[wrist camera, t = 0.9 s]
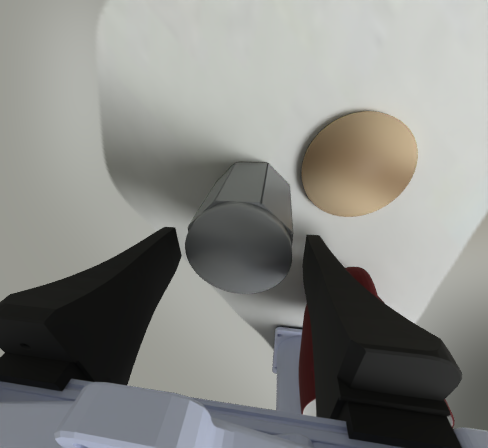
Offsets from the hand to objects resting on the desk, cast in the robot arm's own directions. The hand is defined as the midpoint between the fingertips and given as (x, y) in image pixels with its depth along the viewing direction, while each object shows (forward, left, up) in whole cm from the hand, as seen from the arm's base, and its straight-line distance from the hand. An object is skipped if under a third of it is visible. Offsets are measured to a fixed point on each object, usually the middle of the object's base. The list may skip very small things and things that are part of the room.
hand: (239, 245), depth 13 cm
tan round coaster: (+2, -7, -6) cm, 10 cm away
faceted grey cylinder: (0, 0, -6) cm, 6 cm away
